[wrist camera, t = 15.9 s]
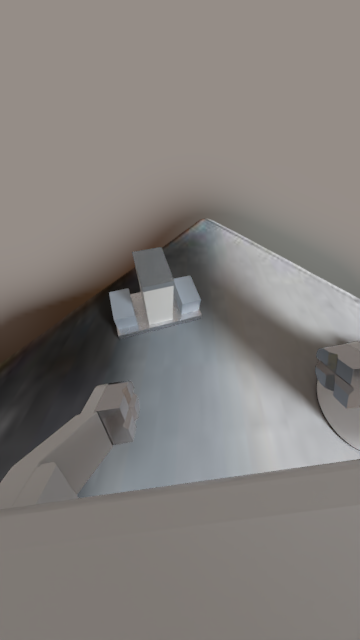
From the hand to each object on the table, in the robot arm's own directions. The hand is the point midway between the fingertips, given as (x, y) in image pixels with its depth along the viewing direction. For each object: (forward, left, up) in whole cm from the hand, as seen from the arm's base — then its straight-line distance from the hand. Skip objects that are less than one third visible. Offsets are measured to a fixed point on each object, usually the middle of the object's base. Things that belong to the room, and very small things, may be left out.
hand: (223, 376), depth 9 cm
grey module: (-1, -20, -24) cm, 31 cm away
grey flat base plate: (0, -20, -25) cm, 32 cm away
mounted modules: (0, -20, -24) cm, 31 cm away
